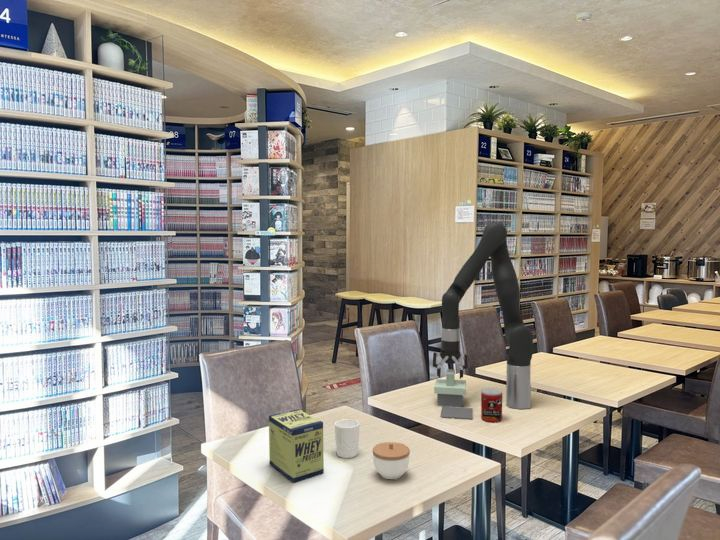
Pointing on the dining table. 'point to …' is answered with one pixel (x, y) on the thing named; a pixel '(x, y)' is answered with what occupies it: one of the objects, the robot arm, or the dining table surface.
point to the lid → (450, 384)
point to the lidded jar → (391, 459)
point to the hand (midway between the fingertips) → (450, 377)
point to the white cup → (347, 438)
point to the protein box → (296, 445)
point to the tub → (449, 400)
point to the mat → (457, 413)
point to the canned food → (491, 405)
